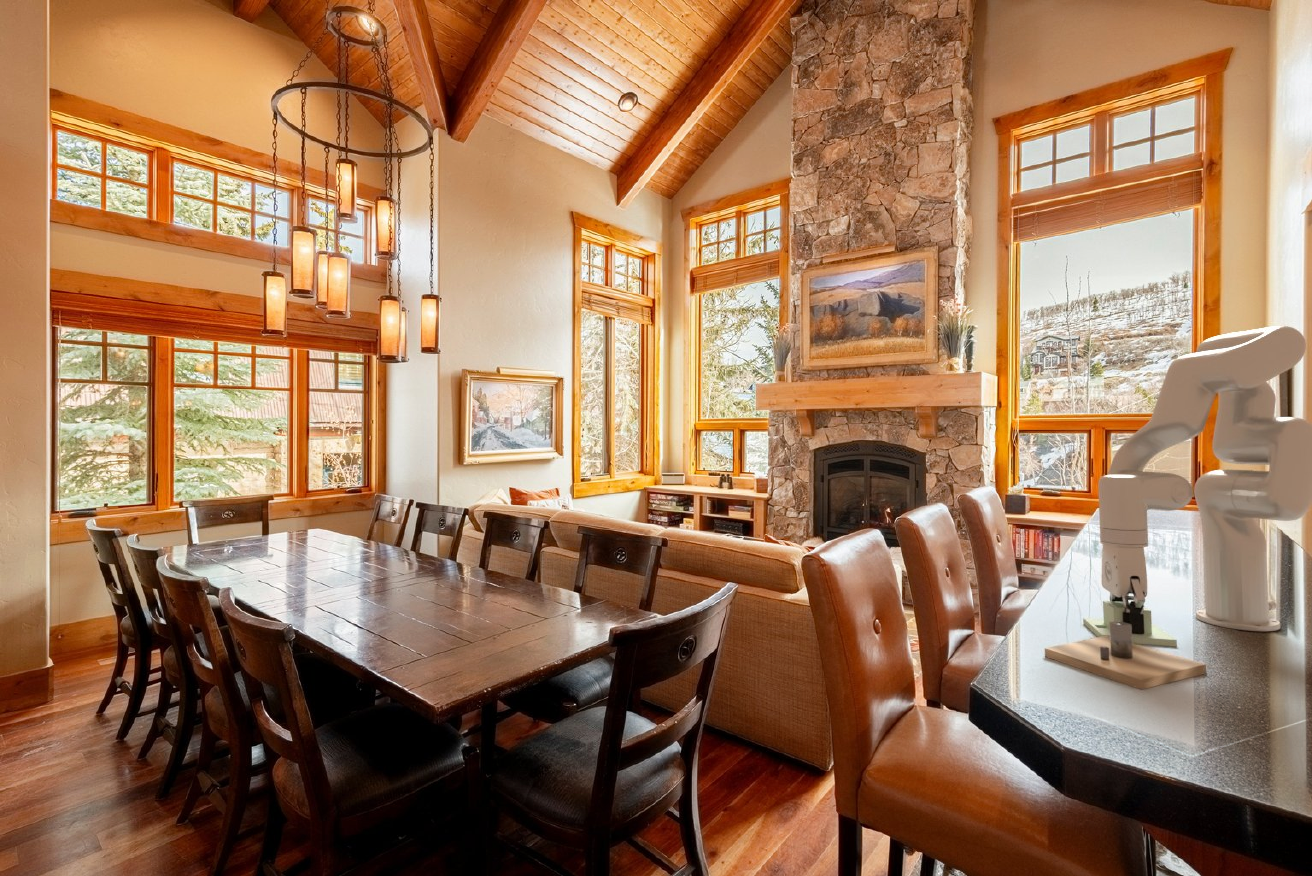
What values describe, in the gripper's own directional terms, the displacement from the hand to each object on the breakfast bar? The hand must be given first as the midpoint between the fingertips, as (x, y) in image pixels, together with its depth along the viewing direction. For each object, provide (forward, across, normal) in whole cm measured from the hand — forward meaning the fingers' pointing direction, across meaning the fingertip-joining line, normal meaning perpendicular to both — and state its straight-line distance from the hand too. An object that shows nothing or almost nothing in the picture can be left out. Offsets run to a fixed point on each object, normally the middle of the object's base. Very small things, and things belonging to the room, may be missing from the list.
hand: (1126, 627), depth 120 cm
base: (+1, +19, -7) cm, 20 cm away
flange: (+1, 0, 0) cm, 1 cm away
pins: (0, +20, -8) cm, 21 cm away
